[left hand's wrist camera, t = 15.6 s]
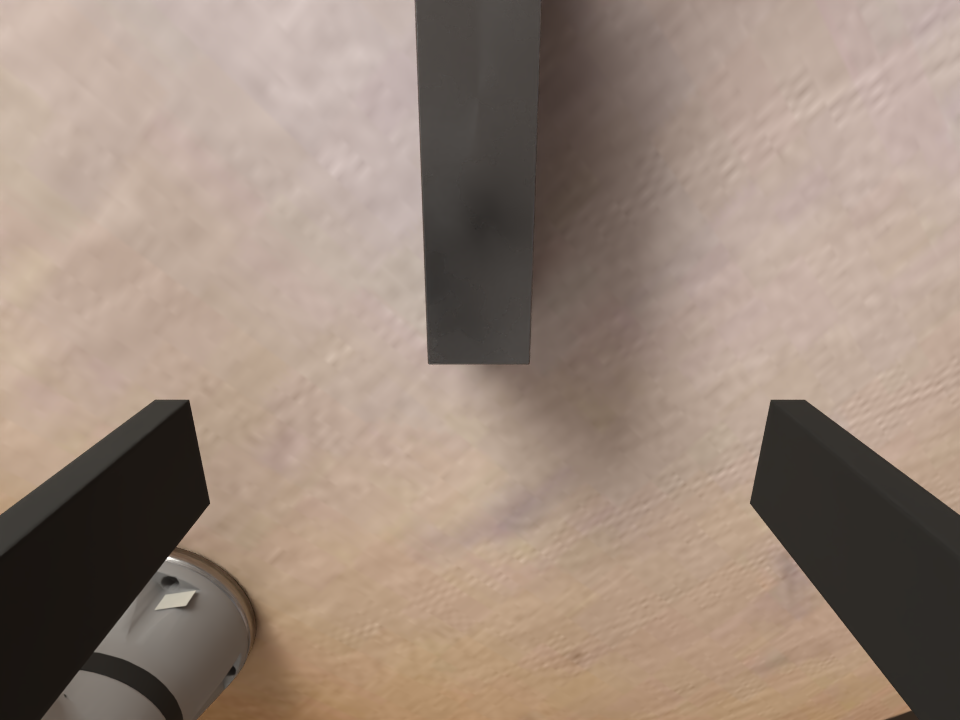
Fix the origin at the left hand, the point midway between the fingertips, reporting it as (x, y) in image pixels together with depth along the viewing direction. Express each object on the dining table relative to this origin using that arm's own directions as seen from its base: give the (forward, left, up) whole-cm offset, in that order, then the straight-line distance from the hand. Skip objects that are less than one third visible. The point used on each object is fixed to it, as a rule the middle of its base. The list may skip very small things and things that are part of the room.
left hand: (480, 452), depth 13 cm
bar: (+3, +8, -25) cm, 26 cm away
